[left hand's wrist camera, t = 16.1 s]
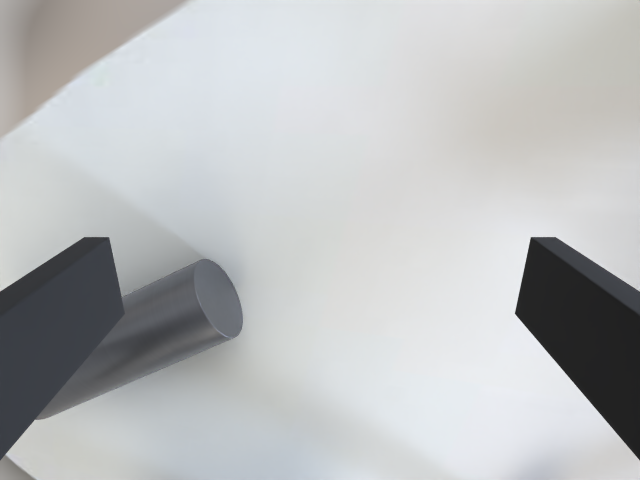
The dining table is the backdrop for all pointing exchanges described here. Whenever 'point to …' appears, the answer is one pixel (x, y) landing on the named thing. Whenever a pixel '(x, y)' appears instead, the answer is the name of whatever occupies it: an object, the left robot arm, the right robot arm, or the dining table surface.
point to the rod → (157, 332)
